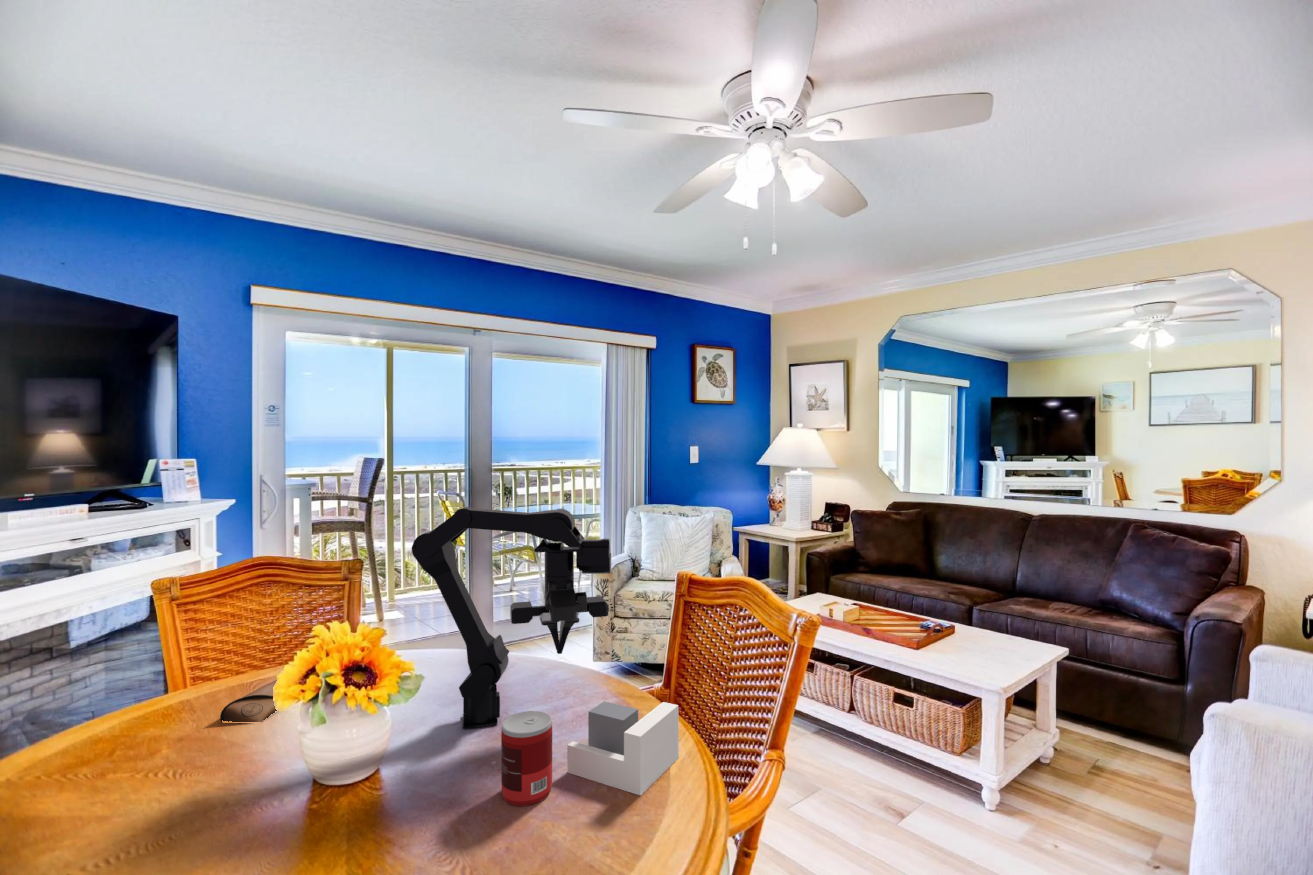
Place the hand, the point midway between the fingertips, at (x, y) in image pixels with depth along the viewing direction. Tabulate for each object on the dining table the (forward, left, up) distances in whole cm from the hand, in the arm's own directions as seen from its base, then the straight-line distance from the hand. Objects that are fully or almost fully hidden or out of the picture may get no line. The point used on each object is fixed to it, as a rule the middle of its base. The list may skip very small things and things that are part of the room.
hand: (559, 653), depth 120 cm
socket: (+8, -20, -13) cm, 25 cm away
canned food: (-8, -24, -13) cm, 29 cm away
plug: (+8, -20, -13) cm, 25 cm away
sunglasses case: (-57, +24, -14) cm, 63 cm away
